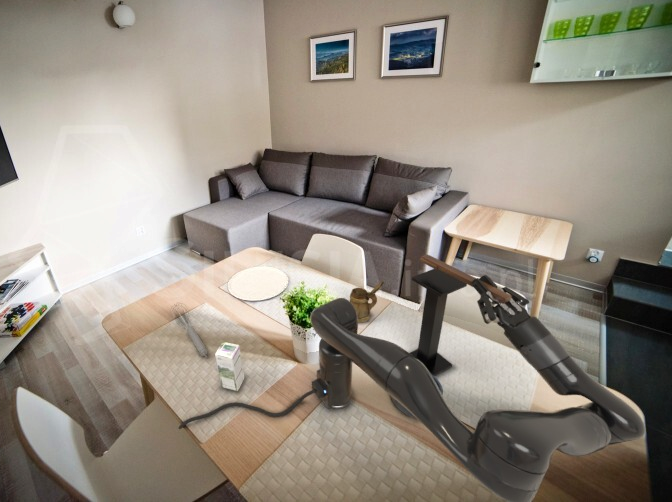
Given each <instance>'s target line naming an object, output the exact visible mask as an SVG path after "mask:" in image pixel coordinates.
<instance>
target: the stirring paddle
mask: <svg viewBox="0 0 672 502" xmlns="http://www.w3.org/2000/svg"><path fill="white" fill-rule="evenodd" d="M419 262H420V263H422V264H424V265H426V266H428V267H430V268H431V269H439V270H441V271H443V272H445V273H447V274H448V275H450V276H452V277H454V278H456V279H458V280H460V281H462V282H464V283H466V284H467V286H470V287H471V288H474V287H473V286H472V283H471V282H472V281H473V280H474V279H476V277H474V276H473V275H470V274H469V273H466V272H465V271H462V270H460V269H458V268H456V267H455V266H452V265H450V264H448V263H446V262H444V261H442V260H440V259H438V258H436V257H434V256H432V255H431V254H424V255H421V256H420V259H419ZM482 282H483V281H482ZM483 284H484V285H485V286H486V287H487V288H488V289H489V292H491V293H492V294H493V295H494V296H495V297H496V298H499V299H500V300H501V301H502V302H503V303H506V302H508V301H510V300H511V295H510V294H508V293H505V292H503V291H501V290H499V289H497V288H495V287H493V286H491V285H489V284H487V283H485V282H483Z"/></svg>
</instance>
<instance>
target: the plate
mask: <svg viewBox="0 0 672 502" xmlns="http://www.w3.org/2000/svg"><path fill="white" fill-rule="evenodd" d="M288 285H289V277H288V275H287V273H286V272H284V271H283V270H282V269H279V268H276V267H272V266H265V265H262V266H261V265H260V266H252V267H248V268H245V269H242V270H240V271H238V272H236V273H235V274H234V275H232V277H230V279H229V280H228V283H227V289H228V292H229V293H230V294H231V296H233V297H235V298H237V299H240V300H243V301H248V302H249V301H250V302H257V301H258V302H259V301H265V300H269V299H273V298H274V297H277V296H279V295H280V294H281V293H283V292H284V291H285V290H286V289H287V287H288Z"/></svg>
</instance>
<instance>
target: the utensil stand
mask: <svg viewBox="0 0 672 502" xmlns="http://www.w3.org/2000/svg"><path fill="white" fill-rule="evenodd" d="M411 281H413V282H414V283H416V284H418V285H419V286H421V287H422V288H424V289H426V290H425V295H424V303H423V311H422V318H421V324H420V331H419V338H418V345H417V349H414V350H412V351H411V352H409V353H410V354H411V355H413V356H414V357H416V358H417V359H418V360H419V361H421V362H422V363H423V364H424V365H425V367H426V368H427V369H428V371H429V372H430V373H431V374H432V375H434V376H435V377H437V376H439V375H441V374H442V373H444V372H446V371H448V370H450V369H452V368H453V365H454V364H452V362H450V361H449V360H448V359H446V358H445V357H444V356H442V355H441V354H440V353H438V351H439V344H440V339H441V335H442V330H443V329H442V328H443V322H444V317H445V312H446V305H447V300H448V295H449V294H452V293H455V292H457V291H459V290H461V289H463V288H466V287H467V286H468V284H466V283H464V282H462V281H460V280H458V279H456V278H454V277H452V276H450V275H448V274H447V273H445V272H443V271H441V270H439V269H434V268H431V269H429V270H426V271H424V272H421V273H419V274H416V275H414V276H411Z"/></svg>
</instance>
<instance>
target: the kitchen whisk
mask: <svg viewBox="0 0 672 502" xmlns="http://www.w3.org/2000/svg"><path fill="white" fill-rule="evenodd" d="M179 304H180V307H182V309H186V310H183V311H184V314H185V315H184V314H183V313H182V311H181V309H180V308H179ZM174 309H175V310H176V312H178V313H179V315H180V317H181V319H182V320H183V321H184V323H181V324H180V326H181V327H182V328H183V329H184V330H185V329H186V332H187V334H188V336H189V338H190V340H191V341H192V342H193V344H194V346H195V347H196V349H197V352H198V353H199V355H201V357H208V355H207V354H208V349H207V348H206V346H205V343H203V341H202V339H201V338H200V336H199V334H198V333H197V331H196V329H195V328H194V327H193V325H192V324H191V323H190V322H192V319H191V314H190V311H189V310H188V307H187V305H185V304H184V306H183V303H182V302H181V303H180V302H179V301H178V302H177V304H173V305H172V306H171V308H170V311H171V315H172V316H173V317H176V316H178V314H177V313H175V314H176V316H175V314H174V312H173V311H174ZM178 310H179V311H180V312H179V311H178ZM186 312H187V313H186ZM181 314H182V315H181ZM187 314H188V317H189V319H188V317H187ZM185 316H186V317H185ZM183 317H185V318H186V319H185V318H183ZM184 319H185V320H184ZM189 320H190V321H189ZM185 321H186V322H185ZM178 322H181V320H180V319H178Z"/></svg>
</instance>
